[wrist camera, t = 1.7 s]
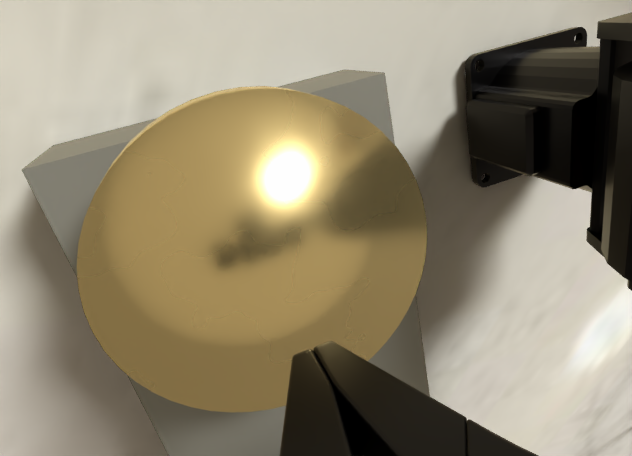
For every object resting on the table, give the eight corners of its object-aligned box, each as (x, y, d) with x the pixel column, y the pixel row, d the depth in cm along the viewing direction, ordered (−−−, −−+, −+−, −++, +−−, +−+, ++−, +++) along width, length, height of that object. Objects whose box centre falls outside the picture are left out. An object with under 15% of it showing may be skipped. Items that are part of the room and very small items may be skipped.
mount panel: (344, 69, 19) (384, 72, 15) (410, 448, 29) (444, 503, 25) (52, 145, 17) (21, 169, 13) (233, 528, 27) (243, 601, 23)
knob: (343, 49, 16) (405, 47, 12) (383, 283, 20) (440, 344, 16) (49, 123, 14) (-3, 152, 10) (162, 364, 18) (159, 458, 14)
